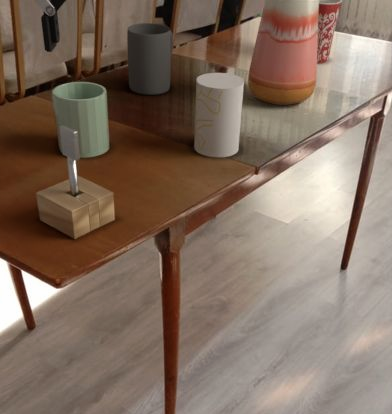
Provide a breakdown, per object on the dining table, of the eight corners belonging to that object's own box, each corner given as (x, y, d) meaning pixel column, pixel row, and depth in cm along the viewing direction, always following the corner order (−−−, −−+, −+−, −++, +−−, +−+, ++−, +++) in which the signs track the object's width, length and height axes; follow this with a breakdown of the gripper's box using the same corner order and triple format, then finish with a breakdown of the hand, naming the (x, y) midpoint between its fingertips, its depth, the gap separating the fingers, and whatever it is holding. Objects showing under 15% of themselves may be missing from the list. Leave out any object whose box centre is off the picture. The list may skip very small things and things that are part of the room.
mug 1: (155, 98, 133) (155, 37, 125) (120, 89, 136) (118, 29, 129) (188, 81, 142) (190, 23, 134) (155, 73, 145) (154, 16, 138)
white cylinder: (186, 143, 116) (188, 76, 108) (224, 136, 119) (229, 70, 111) (207, 160, 111) (210, 91, 103) (246, 152, 114) (252, 85, 106)
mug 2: (337, 57, 159) (347, -3, 150) (324, 67, 153) (333, 5, 144) (291, 48, 164) (299, -10, 155) (276, 57, 158) (283, -4, 149)
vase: (325, 98, 137) (352, -63, 117) (289, 115, 128) (312, -54, 109) (270, 82, 144) (287, -73, 124) (233, 98, 135) (245, -66, 115)
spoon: (81, 225, 93) (72, 133, 84) (67, 217, 94) (57, 127, 85) (87, 222, 94) (79, 130, 84) (74, 215, 95) (64, 124, 86)
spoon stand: (74, 239, 90) (71, 211, 87) (39, 220, 93) (35, 192, 91) (115, 219, 94) (113, 192, 91) (80, 202, 98) (77, 175, 95)
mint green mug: (119, 147, 114) (117, 91, 107) (82, 162, 109) (76, 104, 102) (76, 128, 120) (71, 74, 113) (38, 142, 114) (30, 85, 108)
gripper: (-111, -128, 63) (-69, 52, 75) (58, -121, 63) (75, 60, 74) (-81, -134, 69) (-46, 34, 80) (74, -127, 68) (88, 41, 80)
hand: (12, 46), depth 77 cm, fingers open, 9 cm apart
